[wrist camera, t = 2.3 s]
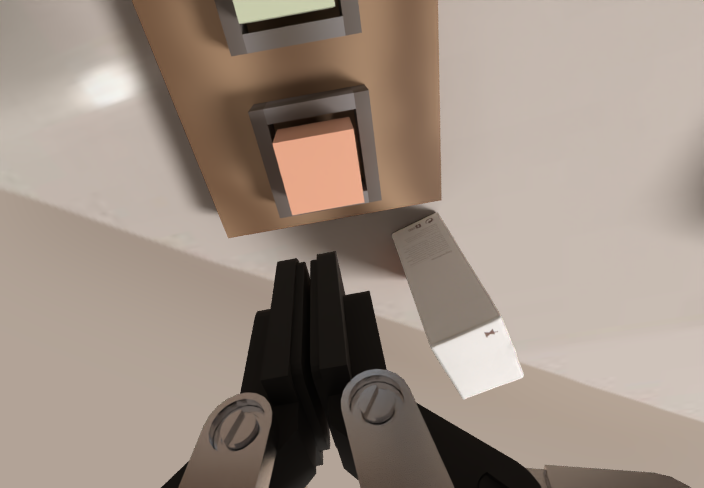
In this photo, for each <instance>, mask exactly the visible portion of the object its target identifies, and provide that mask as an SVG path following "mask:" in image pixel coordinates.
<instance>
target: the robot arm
mask: <svg viewBox="0 0 704 488" xmlns="http://www.w3.org/2000/svg"><path fill="white" fill-rule="evenodd" d="M329 428H330V431H331V434H332V437H333V440H334V443H335V446H336V448H337V449H338V452H339V455H340V458H341V461H342V464H343V467H344V469H345V470H347V471H348V472H349V473H350V474H351V475H353V476H354V477H355V478H356V479H357V480H359V483H360V487H361V488H691V487H689V486H688V485H686V484H684V483H682V482H680V481H678V480H676V479H674V478H673V477H670V476H666V475H661V474H657V473H651V472H637V471H623V470H610V469H595V468H582V467H568V466H555V465H545V466H544V469H532V468H524V467H523V466H522V465H521V464H519V463H518V462H517V461H515V460H513V459H511V458H510V457H508V456H506V455H504V454H503V453H501V452H499V451H498V450H496V449H494V448H492V447H491V446H489V445H487V444H486V443H484V442H482V441H481V440H479V439H477V438H475V437H474V436H472V435H471V434H469V433H467V432H465V431H464V430H462V429H460V428H458V427H457V426H455V425H453V424H452V423H450V422H448V421H446V420H445V419H443V418H442V417H440V416H438V415H436V414H435V413H433V412H431V411H429V410H428V409H426V408H424V407H423V406H421V405H419V404H418V403H416V402H415V399H414V397H413V395H412V393H411V390H410V388H409V387H408V385H407V384H406V382H405V381H404V379H402V378H401V377H400V376H399V375H397V374H396V373H393V372H391V371H388V370H387V369H386V365H385V360H384V356H383V351H382V346H381V342H380V337H379V333H378V328H377V323H376V319H375V314H374V309H373V305H372V300H371V296H370V291H365V292H360V293H355V294H349V295H345V291H344V287H343V282H342V277H341V273H340V268H339V263H338V259H337V254H336V251H333V252H328V253H323V254H317V260H312V261H311V262H310V276H309V273H308V269H307V266H306V263H305V262H301V263H299V261H298V259H297V258H295V259H290V260H284V261H279V262H277V268H276V275H275V282H274V289H273V296H272V303H271V309H267V310H262V311H258V312H257V313H256V315H255V320H254V325H253V330H252V335H251V340H250V346H249V351H248V356H247V361H246V367H245V372H244V377H243V382H242V387H241V392H240V394H237V395H235V396H233V397H231V398H228V399H227V400H225V401H224V402H222V403H221V404H220V405H218V406H217V407H216V408H215V410H214V411H213V412H212V413H211V414H210V415H209V417H208V419H207V421H206V423H205V424H204V426H203V429H202V431H201V433H200V436H199V438H198V441H197V443H196V446H195V448H194V451H193V453H192V456H191V458H190V460H189V461H188V462H187V463H186V464H185V465H184V466H183V467H182V468H181V469H180V470H179V471H178V472H177V473H176V474H175V475H174V476H173V477H172V478H171V479H170V480H169V481H168V482H167V483H165V484H164V485H163V486H162V487H161V488H307V485H308V483H309V482H310V481H311V479H312V478H313V477H314V476H315V474H316V466H318V465H323V450H327V449H330V432H329Z"/></svg>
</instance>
